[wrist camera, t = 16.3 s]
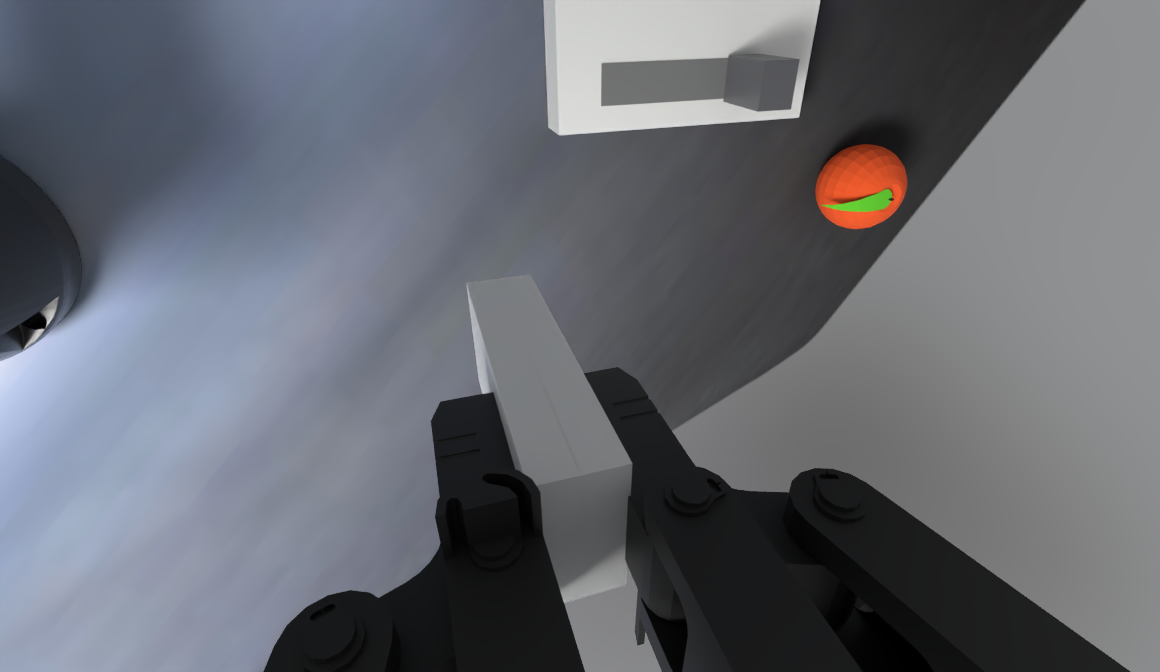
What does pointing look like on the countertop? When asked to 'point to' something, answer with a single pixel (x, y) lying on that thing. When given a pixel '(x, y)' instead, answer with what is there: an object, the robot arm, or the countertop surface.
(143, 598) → the countertop surface
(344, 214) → the countertop surface
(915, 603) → the robot arm
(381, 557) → the countertop surface
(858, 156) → the clementine
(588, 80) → the breaker panel
